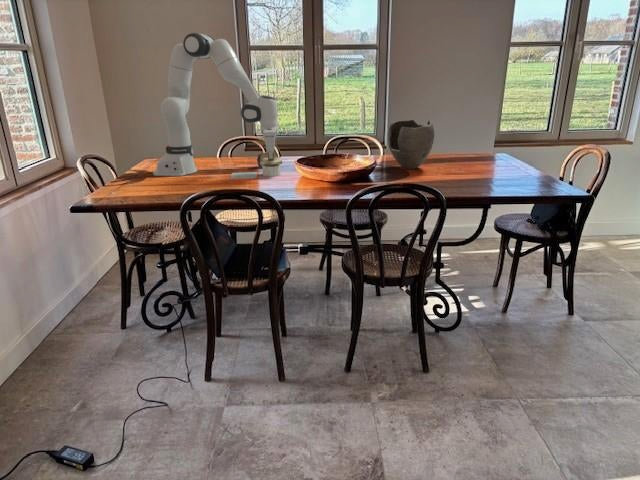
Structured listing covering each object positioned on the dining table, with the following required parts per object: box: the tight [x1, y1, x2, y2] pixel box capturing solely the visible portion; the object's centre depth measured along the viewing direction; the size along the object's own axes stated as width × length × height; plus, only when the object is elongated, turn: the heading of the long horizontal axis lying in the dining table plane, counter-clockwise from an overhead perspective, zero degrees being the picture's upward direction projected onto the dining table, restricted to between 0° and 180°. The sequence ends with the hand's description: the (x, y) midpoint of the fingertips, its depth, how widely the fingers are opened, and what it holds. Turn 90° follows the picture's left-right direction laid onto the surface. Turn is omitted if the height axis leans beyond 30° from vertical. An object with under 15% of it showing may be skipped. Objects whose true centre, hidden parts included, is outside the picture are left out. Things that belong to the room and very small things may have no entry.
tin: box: [256, 150, 279, 169], centre depth 256 cm, size 15×3×8 cm, turn 143°
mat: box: [230, 171, 258, 180], centre depth 238 cm, size 13×13×1 cm
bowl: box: [261, 164, 281, 178], centre depth 238 cm, size 9×9×5 cm
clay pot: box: [387, 119, 435, 170], centre depth 246 cm, size 24×24×25 cm
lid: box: [260, 152, 283, 165], centre depth 236 cm, size 11×11×5 cm
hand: (270, 157), depth 236 cm, fingers closed on lid, 3 cm apart
